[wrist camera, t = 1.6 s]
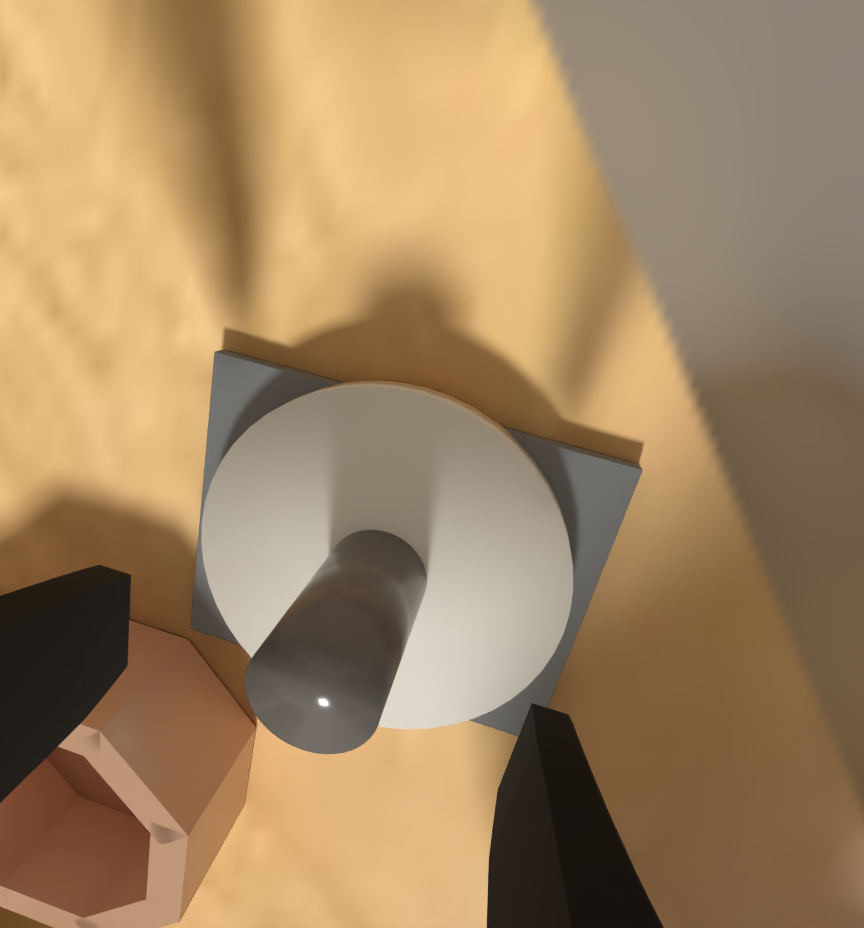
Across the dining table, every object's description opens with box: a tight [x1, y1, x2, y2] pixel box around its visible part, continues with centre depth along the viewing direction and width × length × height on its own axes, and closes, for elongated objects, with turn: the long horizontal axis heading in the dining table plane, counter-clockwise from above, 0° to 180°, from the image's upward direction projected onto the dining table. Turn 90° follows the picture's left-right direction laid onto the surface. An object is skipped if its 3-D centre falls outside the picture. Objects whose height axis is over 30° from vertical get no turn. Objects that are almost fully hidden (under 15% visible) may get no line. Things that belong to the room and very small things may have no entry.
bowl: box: [0, 620, 256, 928], centre depth 16 cm, size 8×8×4 cm
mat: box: [190, 350, 642, 736], centre depth 14 cm, size 10×8×1 cm
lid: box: [201, 380, 573, 754], centre depth 11 cm, size 9×9×5 cm
